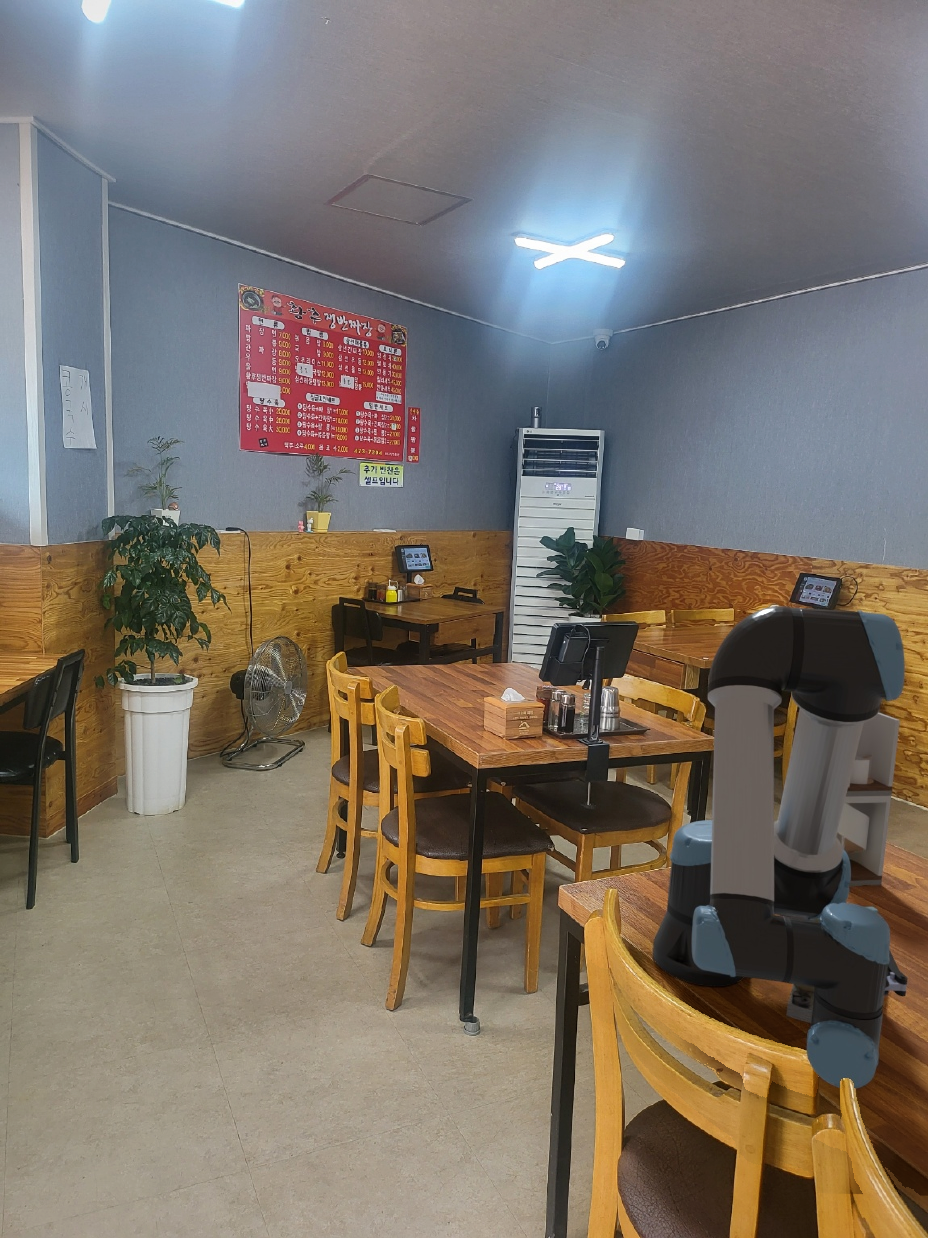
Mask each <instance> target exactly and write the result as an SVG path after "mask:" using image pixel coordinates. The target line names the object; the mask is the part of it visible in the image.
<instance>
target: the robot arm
mask: <svg viewBox="0 0 928 1238" xmlns="http://www.w3.org/2000/svg"><path fill="white" fill-rule="evenodd" d="M905 666H906V665H905V652H904V644H903V639H902V636H901V632H900V629H899V626H898V625H897V623H896V622H895V620H894V619H893V618H892V617H890V616H888V614H887V615H886V614H884V613H883V614H882V613H875V612H868V611H866V612H864V611H862V610H861V609H860V610H859V609H858V610H857V611H855V610H854V611H852V610H837V609H822V608H807V607H806V608H805V607H790V606H784V605H783V606H779V605H778V606H777V605H775V606H769V607H765V608H762V609H760V610H757V611H755V612H752V613H751V614H750V615H747V616H746V617H745V618H743V619H742V620H741V621H739V622H738V623H737V624H736V625H735V626H734V627H733V628H732V629H731V630H730V632H729V633H728V634H727V635H726V636H725V637H724V639H723V640H722V642H721V644H720V645H719V647H718V648H717V650H716V653H715V655H714V657H713V659H712V662H711V666H710V669H709V673H708V679H707V680H708V681H707V700H708V701H709V703H710V704H711V705H712V706H713V707H714V733H713V734H714V735H713V740H714V741H713V769H712V770H713V775H712V777H713V778H712V780H713V781H712V809H711V810H712V811H711V812H712V813H711V817H712V818H711V819H710V820H706V819H705V820H698V821H693V822H688V823H687V824H684V825H682V826H681V827H679V828H678V829H677V830H676V831H675V833H674V835H673V839H672V840H673V841H672V846H671V847H672V848H671V852H670V854H669V859H670V869H669V871H670V872H669V881H668V882H669V883H668V892H667V893H668V895H667V907H666V912H665V915H664V917H663V919H662V921H661V923H660V925H659V928H658V929H657V932H656V934H655V936H654V939H653V945H652V957H653V958H652V959H653V961H654V960H655V961H654V962H655V964H656V965H657V966H658V967H659V968H660V969H661V970H662V971H664V972H665V971H666V972H665V973H666V974H668V975H670V976H672V977H674V978H676V977H677V978H676V979H678V980H680V979H681V981H683V982H687V983H689V984H690V983H691V984H694V985H698V986H705V987H724V986H731V985H735V984H738V983H739V982H741V981H742V980H744V978H748V979H749V978H750V979H757V980H766V981H773V982H780V983H785V984H790V985H791V984H792V985H793V984H796V985H803V986H810V987H814V999H813V1009H812V1019H811V1023H810V1025H809V1026H810V1027H809V1028H808V1031H807V1035H806V1036H807V1037H806V1056H807V1059H808V1061H809V1064H810V1066H811V1067H812V1069H813V1071H814V1072H815V1073H816V1074H817V1075H818V1077H820V1079H822V1080H824V1081H825V1082H826V1083H828V1084H830V1085H832V1086H834V1087H836V1088H840V1081H841V1079H843V1078H849V1079H851V1080H852V1081H853V1083H854V1088H855V1089H854V1090H856V1089H860V1088H862V1087H864V1086H866V1085H867V1084H869V1083H870V1082H871V1081H872V1079H873V1078H874V1076H875V1074H876V1069H877V1067H878V1066H879V1057H880V1053H879V1048H880V1042H881V1041H880V1040H881V1032H882V1024H883V1014H884V1013H883V1012H884V1009H883V1007H884V999H885V997H886V996H888V995H889V992H890V991H891V992H892V991H893V992H894V993H895V994H896V995H897V996H899V997H906V995H907V987H908V979H909V978H908V977H907V976H906V975H905V974H904V973H903V972H902V971H901V970H900V968H899V966H898V964H897V962H896V960H895V958H894V956H893V954H892V951H891V950H890V949H891V948H890V947H891V937H890V936H891V929H890V926H889V924H888V922H887V921H886V920H885V919H884V917H883V916H882V915H881V914H879V912H878V913H876V912H875V911H873V910H871V909H869V908H866V907H867V906H863V905H860V904H855V903H852V902H851V903H850V902H847V900H848V897H849V894H850V886H849V883H850V881H851V866H850V861H849V857H848V855H847V853H846V851H845V850H844V849H843V848H842V845H841V843H840V841H839V840H838V838H837V837H836V835H837V831H838V826H839V822H840V818H841V814H842V810H843V806H844V802H845V798H846V793H847V789H848V785H849V781H850V777H851V773H852V769H853V765H854V761H855V756H856V752H857V748H858V744H859V740H860V736H861V732H862V728H863V724H864V722H867V721H869V720H871V719H873V718H874V717H875V716H877V714H878V712H879V713H880V708H881V705H882V702H883V700H885V701H887V702H891V701H894V700H897V699H899V698H900V696H901V695H902V693H903V689H904V683H905V673H906V672H905V670H906V669H905V668H906V667H905ZM782 692H790V693H791V694H790V695H791V699H792V701H793V702H794V703H795V705H796V706H797V707H798V708H799V711H798V716H797V720H796V724H795V730H794V735H793V739H792V740H793V741H792V746H791V751H790V757H789V762H788V766H787V771H786V776H785V782H784V787H783V791H782V797H781V802H780V806H779V810H778V811H779V812H778V817H777V820H775V797H774V796H775V791H774V790H775V784H774V783H775V774H774V772H775V764H774V763H775V760H774V759H775V753H774V752H775V747H774V746H775V743H774V742H775V741H774V739H775V735H774V734H775V732H774V731H775V730H774V729H775V727H774V723H775V722H774V721H775V719H774V718H775V717H774V715H775V714H774V713H775V712H774V711H775V709H776V708H777V707H778V706H779V705H781V704H782V701H783V700H782V699H783V698H782V697H783V693H782ZM814 919H819V920H820V921H815V920H814ZM840 1089H841V1088H840Z"/></svg>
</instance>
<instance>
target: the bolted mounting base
mask: <svg viewBox="0 0 928 1238" xmlns="http://www.w3.org/2000/svg"><path fill="white" fill-rule="evenodd" d="M813 999H814V992H811V991H806V990H803V989H801V988H799V987H797V986H796V985H795V984H792V988H791V991H790V995H789V997H788V1001H787V1006H786V1017H789V1018H792V1019H795V1020H798V1021H801V1022H806V1023H808V1024H811V1019H812V1009H813Z"/></svg>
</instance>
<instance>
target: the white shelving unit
mask: <svg viewBox="0 0 928 1238" xmlns="http://www.w3.org/2000/svg"><path fill="white" fill-rule="evenodd" d="M900 721H901V720H900V719H897V718H895V717H891V716H890V715H886V714H884V713H882V712H880V711H879V712H878V714H877V716H875V717H874V718H873V719H871V720H869V721H867V722H864V724H863V728H862V732H861V736H860V740H859V744H858V748H857V752H856V756H855V761H854V765H853V769H852V773H851V777H850V781H849V785H848V789H847V793H846V798H845V802H844V806H843V810H842V814H841V818H840V822H839V826H838V831H837V835H836V837H837V838H838V840H839V841H840V843H841V845H842V848H843V849H844V850H845V851H846V853H847V855H848V857H849V861H850V866H851V881H850V883H849V887H863V886H862V885H871V886H882V881H883V873H884V863H885V857H886V856H885V854H886V846H887V837H888V828H889V818H890V810H891V802H892V793H893V785H894V774H895V767H896V766H895V765H896V758H897V757H896V756H897V749H898V739H899V732H900V731H899V730H900V723H901V722H900Z"/></svg>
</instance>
